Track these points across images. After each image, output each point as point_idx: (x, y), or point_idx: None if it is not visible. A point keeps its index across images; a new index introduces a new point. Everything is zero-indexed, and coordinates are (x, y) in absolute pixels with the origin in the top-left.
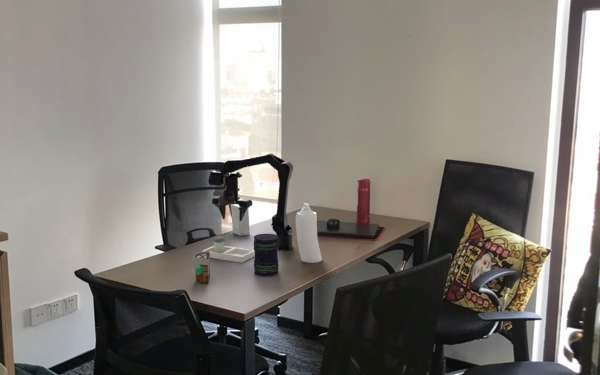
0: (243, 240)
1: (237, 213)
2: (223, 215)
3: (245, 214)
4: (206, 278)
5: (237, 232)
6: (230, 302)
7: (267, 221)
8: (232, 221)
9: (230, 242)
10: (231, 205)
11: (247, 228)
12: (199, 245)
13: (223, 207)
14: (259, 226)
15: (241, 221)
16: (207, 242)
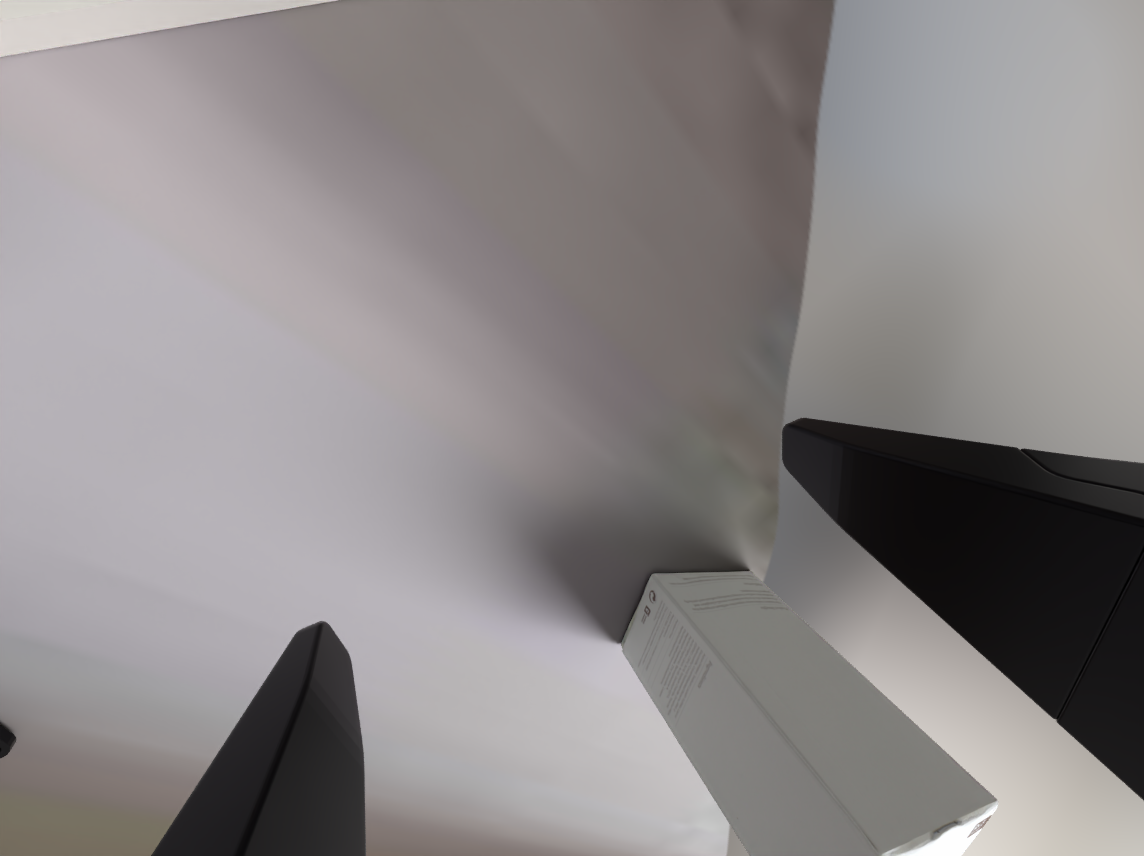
0: (528, 531)
1: (825, 751)
2: (858, 464)
3: (749, 802)
4: None
5: (695, 585)
6: None
7: None
8: (820, 641)
9: (571, 399)
10: (988, 795)
11: (652, 675)
12: (757, 49)
13: (1139, 655)
14: None
15: (722, 694)
16: (754, 223)
